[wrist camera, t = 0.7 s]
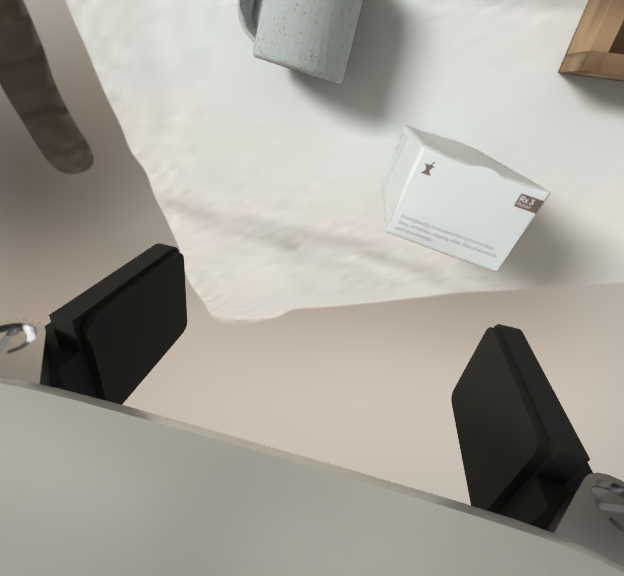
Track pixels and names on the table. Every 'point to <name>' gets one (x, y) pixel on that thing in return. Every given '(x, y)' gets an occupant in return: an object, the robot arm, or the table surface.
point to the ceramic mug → (304, 34)
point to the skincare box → (457, 199)
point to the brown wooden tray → (598, 42)
